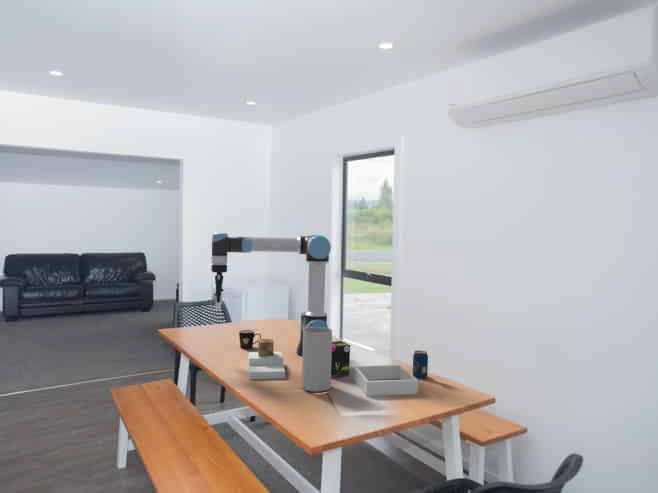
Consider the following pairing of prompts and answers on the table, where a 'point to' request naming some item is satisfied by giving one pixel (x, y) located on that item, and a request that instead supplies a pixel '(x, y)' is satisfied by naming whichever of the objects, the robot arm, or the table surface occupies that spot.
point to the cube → (265, 347)
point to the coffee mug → (247, 338)
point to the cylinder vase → (316, 359)
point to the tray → (386, 387)
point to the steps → (266, 366)
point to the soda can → (420, 364)
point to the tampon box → (340, 359)
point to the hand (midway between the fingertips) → (218, 306)
